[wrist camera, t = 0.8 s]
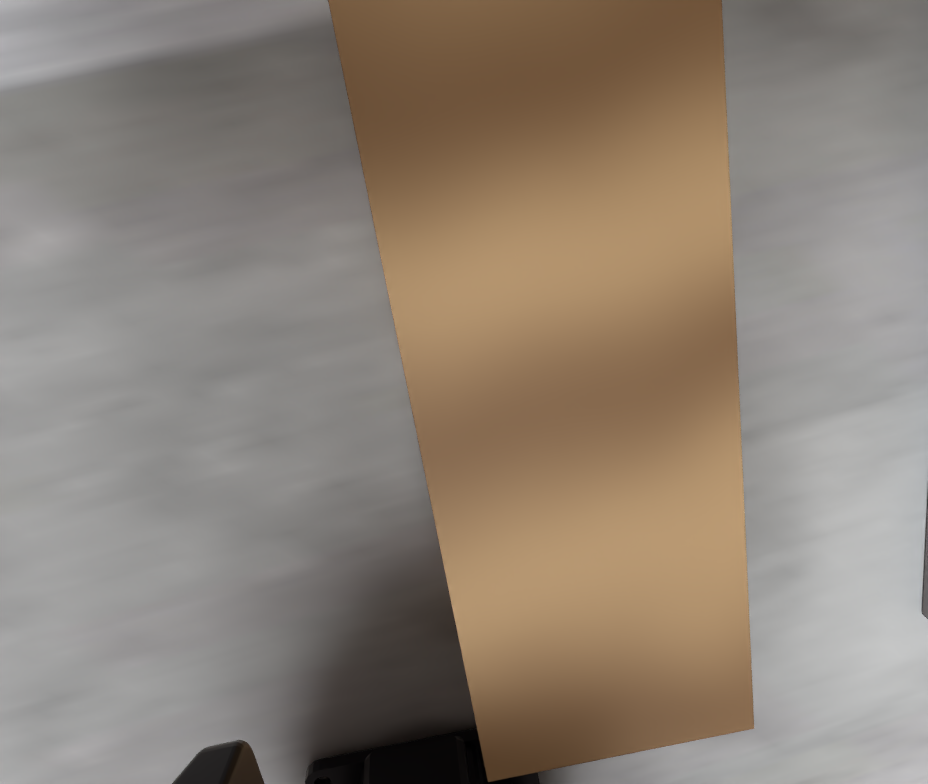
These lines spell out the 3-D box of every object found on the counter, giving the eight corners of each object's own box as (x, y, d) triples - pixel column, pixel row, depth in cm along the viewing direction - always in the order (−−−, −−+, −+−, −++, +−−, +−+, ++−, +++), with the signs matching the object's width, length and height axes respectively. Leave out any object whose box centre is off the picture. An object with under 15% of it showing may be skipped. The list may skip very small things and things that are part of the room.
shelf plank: (676, 596, 22) (754, 728, 17) (466, 637, 22) (487, 782, 17) (623, -37, 16) (717, -97, 12) (341, 11, 16) (322, -29, 12)
